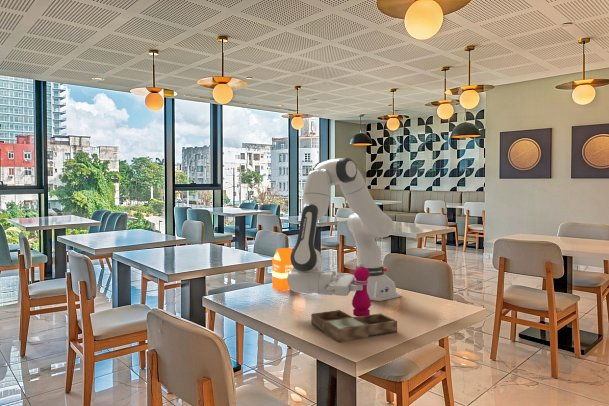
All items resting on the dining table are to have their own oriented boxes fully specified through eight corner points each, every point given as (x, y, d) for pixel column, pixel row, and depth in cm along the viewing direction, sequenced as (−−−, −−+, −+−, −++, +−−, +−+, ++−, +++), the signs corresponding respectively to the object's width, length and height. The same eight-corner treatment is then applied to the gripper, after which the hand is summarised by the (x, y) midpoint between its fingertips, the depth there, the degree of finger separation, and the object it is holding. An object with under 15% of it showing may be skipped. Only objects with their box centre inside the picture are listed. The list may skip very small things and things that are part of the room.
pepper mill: (350, 311, 172) (350, 261, 171) (368, 311, 173) (368, 260, 172) (354, 317, 165) (354, 265, 164) (372, 317, 166) (373, 264, 164)
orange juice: (272, 288, 219) (272, 248, 218) (286, 285, 225) (286, 246, 224) (280, 291, 213) (281, 250, 212) (295, 288, 219) (295, 248, 218)
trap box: (365, 316, 175) (365, 305, 174) (396, 332, 157) (397, 320, 156) (311, 324, 164) (311, 313, 164) (338, 342, 146) (338, 329, 146)
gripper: (322, 281, 161) (360, 283, 158) (333, 270, 181) (366, 271, 178) (322, 298, 162) (360, 301, 158) (333, 285, 181) (366, 287, 178)
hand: (363, 285), depth 168 cm, fingers closed on pepper mill, 5 cm apart
